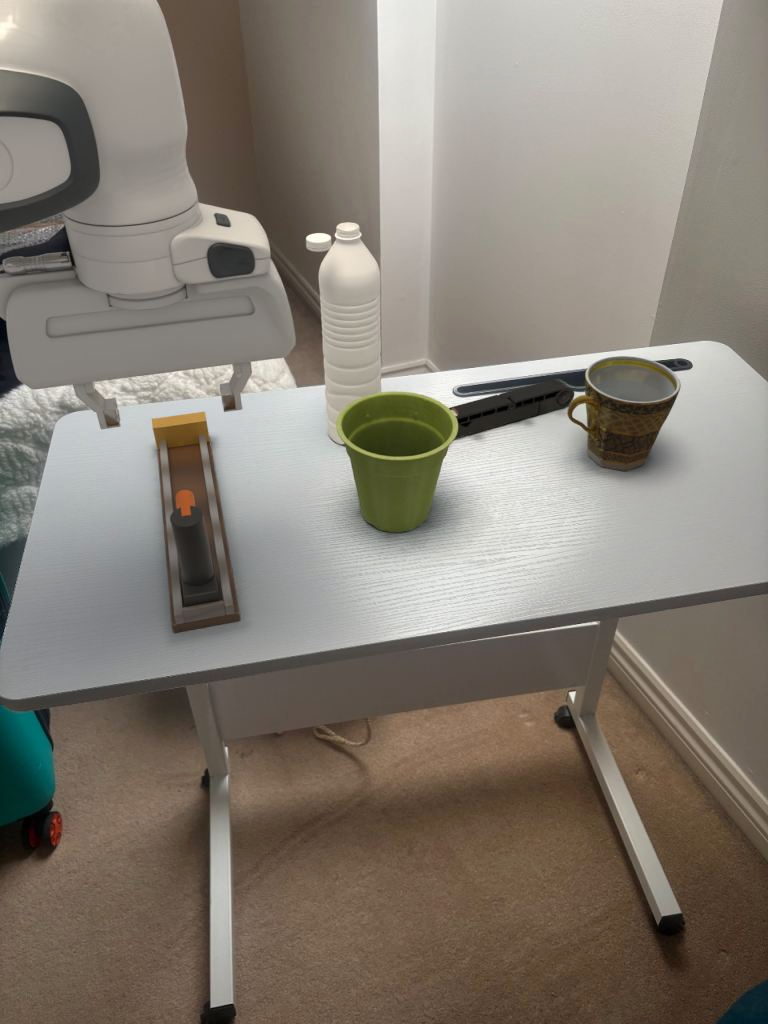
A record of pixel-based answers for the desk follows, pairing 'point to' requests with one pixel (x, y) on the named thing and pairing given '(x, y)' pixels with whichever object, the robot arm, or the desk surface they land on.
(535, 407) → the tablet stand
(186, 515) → the nozzle
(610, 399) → the ceramic cup
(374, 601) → the desk surface
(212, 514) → the rail
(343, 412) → the plant pot
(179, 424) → the block
